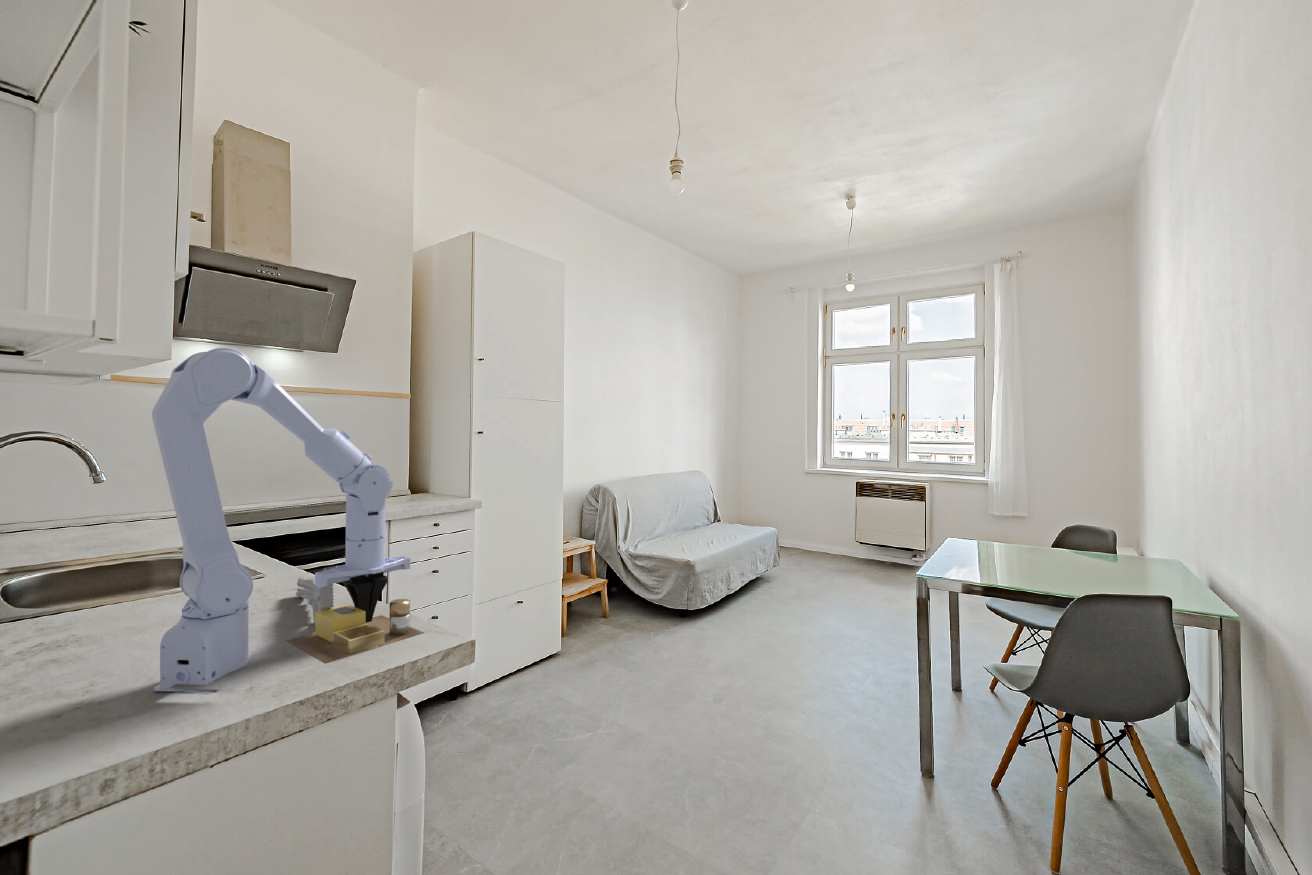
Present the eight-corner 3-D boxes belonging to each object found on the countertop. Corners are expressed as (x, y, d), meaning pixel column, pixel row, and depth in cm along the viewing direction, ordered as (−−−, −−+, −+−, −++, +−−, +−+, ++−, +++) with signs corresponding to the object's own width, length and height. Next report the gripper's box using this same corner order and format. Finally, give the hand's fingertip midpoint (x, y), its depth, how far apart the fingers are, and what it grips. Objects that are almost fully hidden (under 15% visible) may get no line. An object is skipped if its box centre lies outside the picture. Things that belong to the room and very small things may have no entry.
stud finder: (332, 642, 87) (332, 619, 87) (315, 634, 90) (315, 611, 90) (365, 633, 91) (365, 610, 91) (347, 625, 94) (348, 603, 94)
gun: (321, 632, 89) (319, 581, 90) (295, 617, 112) (294, 576, 113) (334, 629, 90) (333, 579, 91) (306, 615, 114) (305, 575, 115)
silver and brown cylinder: (404, 636, 90) (405, 604, 90) (385, 635, 90) (386, 604, 90) (413, 629, 93) (413, 598, 93) (394, 629, 93) (394, 598, 93)
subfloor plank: (325, 671, 80) (325, 648, 80) (285, 648, 88) (285, 627, 88) (424, 639, 92) (424, 620, 92) (381, 621, 100) (381, 603, 100)
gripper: (330, 548, 85) (329, 639, 85) (420, 534, 97) (420, 614, 97) (308, 542, 89) (308, 628, 89) (398, 529, 101) (397, 605, 101)
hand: (365, 620), depth 93 cm, fingers closed
